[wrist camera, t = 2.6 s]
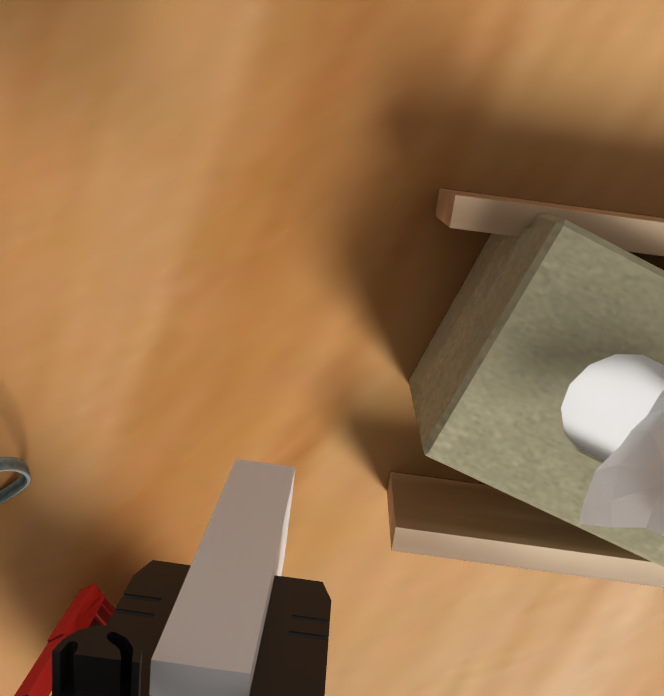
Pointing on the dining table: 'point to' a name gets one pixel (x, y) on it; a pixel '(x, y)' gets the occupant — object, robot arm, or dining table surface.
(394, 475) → the bay
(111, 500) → the dining table surface
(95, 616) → the mug
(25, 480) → the binoculars
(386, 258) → the dining table surface
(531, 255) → the tissue box
